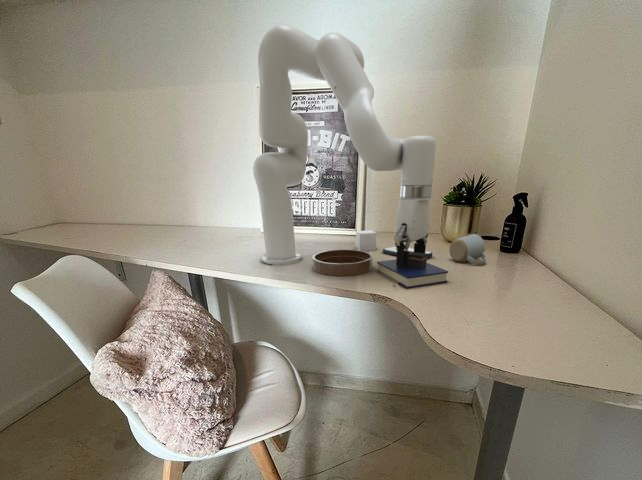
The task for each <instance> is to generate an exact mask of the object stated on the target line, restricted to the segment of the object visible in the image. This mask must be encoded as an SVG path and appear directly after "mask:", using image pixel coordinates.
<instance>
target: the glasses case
mask: <svg viewBox="0 0 642 480" xmlns="http://www.w3.org/2000/svg"><path fill="white" fill-rule="evenodd" d="M427 260H428V258H427V254H426V253H419V252H412V251H409V262H408V266H407V267H409V268H414V269H420V270H421V269H423V268H425V267H426V263H428V262H427ZM397 266H398V265H397Z"/></svg>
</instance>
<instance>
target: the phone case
mask: <svg viewBox="0 0 642 480" xmlns="http://www.w3.org/2000/svg"><path fill="white" fill-rule="evenodd" d="M408 251H412V252H414V247H413V248H412V247H409V248H408ZM382 253H383V254H385V255H391V256H394V257H397V250H396V245H395V246H390V247H385V248H383V249H382ZM425 253H426V254H427V259H429V258H432V257H433V252H432V251H427V250H425Z"/></svg>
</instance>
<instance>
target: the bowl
mask: <svg viewBox="0 0 642 480" xmlns="http://www.w3.org/2000/svg"><path fill="white" fill-rule="evenodd" d="M373 256H374V255H372V253H370V252H368V251H366V250H364V251H360V250H359V249H348V248H347V249H342V248H341V249H330V250H324V251H319V252H316V253H314V254H313V255H312V270H313V271H314V272H315V273H317V274H318V275H323V276H329V277H353V276H354V277H355V276H361V275H364V274H367V273H370V272H371V271H372V270H373V265H374V263H373V260H374V259H373V258H374V257H373Z"/></svg>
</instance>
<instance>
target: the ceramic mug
mask: <svg viewBox="0 0 642 480" xmlns="http://www.w3.org/2000/svg"><path fill="white" fill-rule="evenodd" d="M448 250H449V255H450V257H451V258H452V259H453V260H454V261H455V262H458V263H460V262H461V263H462V262H467V261H468V263H471V264H472V265H475V266H482V265H484V264H485V263H486V262H487V255H486V254H485V250H486V244H485V241H484V239H483V238H482V237H481V235H479V234H477V233H473V234H469V235H466V236H461V237H458V238H456V239H453V241H452V242H451V243H450V245H449V249H448ZM478 259H482V260H478Z"/></svg>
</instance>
